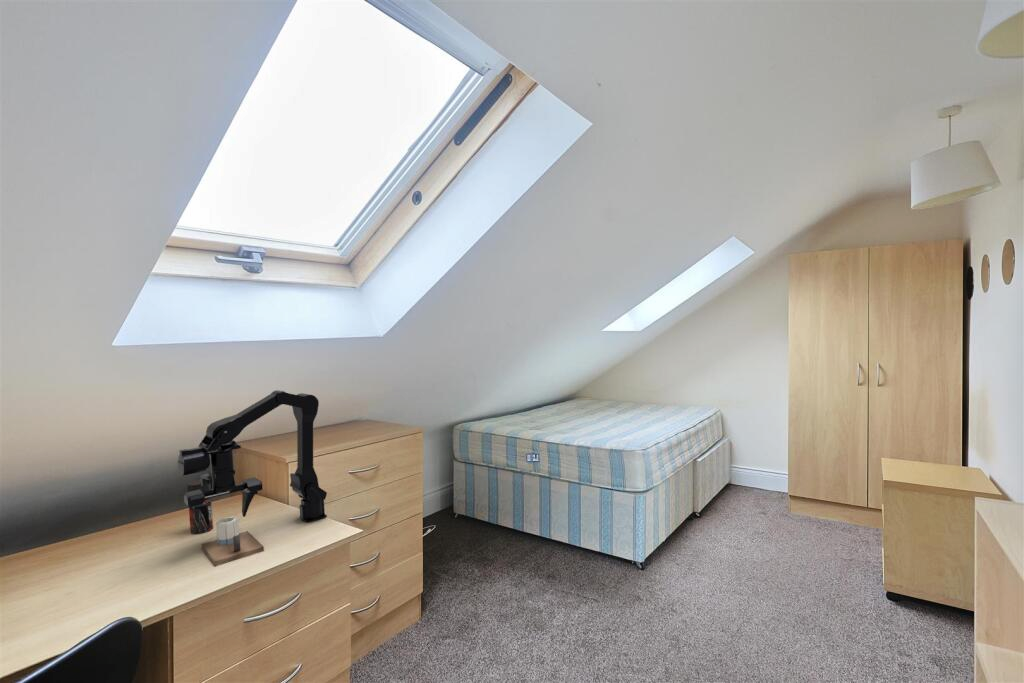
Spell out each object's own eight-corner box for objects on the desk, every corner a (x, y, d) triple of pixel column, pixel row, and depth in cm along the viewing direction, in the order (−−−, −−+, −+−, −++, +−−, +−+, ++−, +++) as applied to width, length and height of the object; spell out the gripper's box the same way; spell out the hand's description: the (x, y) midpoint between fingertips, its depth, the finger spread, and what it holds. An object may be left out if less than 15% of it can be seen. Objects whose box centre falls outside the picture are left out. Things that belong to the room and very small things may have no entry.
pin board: (247, 534, 155) (246, 517, 155) (263, 550, 144) (262, 532, 144) (201, 548, 147) (200, 530, 147) (215, 566, 136) (213, 546, 135)
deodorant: (211, 532, 158) (208, 483, 157) (188, 535, 156) (185, 486, 155) (214, 524, 163) (211, 477, 163) (192, 528, 161) (189, 480, 160)
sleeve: (241, 540, 148) (239, 519, 148) (220, 546, 145) (219, 525, 144) (235, 535, 152) (234, 515, 152) (215, 541, 148) (214, 520, 148)
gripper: (249, 454, 159) (252, 505, 160) (178, 468, 147) (182, 523, 147) (261, 461, 151) (264, 514, 152) (186, 477, 138) (190, 534, 139)
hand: (226, 521), depth 148 cm, fingers open, 9 cm apart
